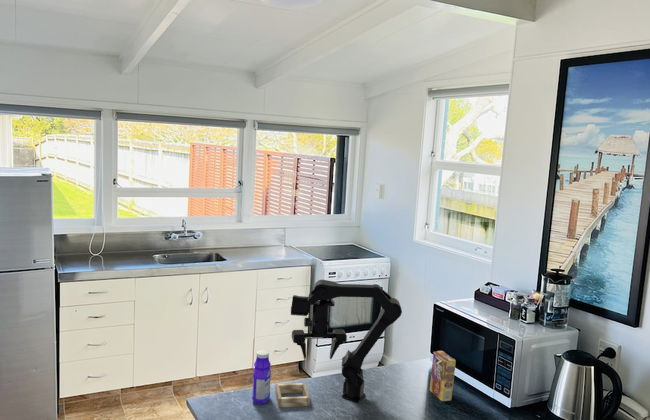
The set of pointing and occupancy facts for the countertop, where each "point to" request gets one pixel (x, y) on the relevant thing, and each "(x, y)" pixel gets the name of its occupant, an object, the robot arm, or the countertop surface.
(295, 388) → the wooden square frame
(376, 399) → the countertop surface
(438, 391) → the candy box
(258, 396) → the bottle
